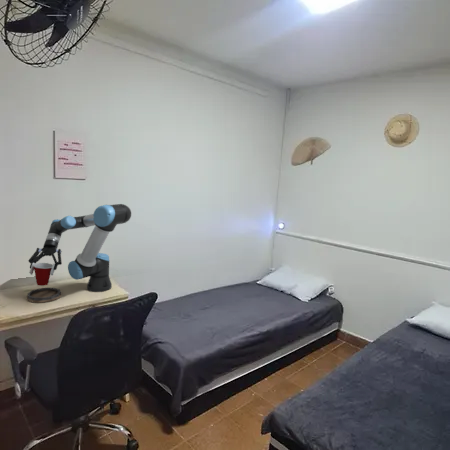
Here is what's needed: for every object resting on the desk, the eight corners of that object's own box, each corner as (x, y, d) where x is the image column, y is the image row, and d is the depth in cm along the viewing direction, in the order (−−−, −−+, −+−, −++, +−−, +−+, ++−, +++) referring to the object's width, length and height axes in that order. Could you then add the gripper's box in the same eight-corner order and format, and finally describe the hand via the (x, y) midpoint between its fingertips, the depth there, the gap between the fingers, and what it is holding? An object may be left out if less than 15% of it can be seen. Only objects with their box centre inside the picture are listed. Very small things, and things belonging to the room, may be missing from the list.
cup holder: (66, 291, 207) (66, 287, 207) (54, 303, 189) (54, 299, 189) (35, 290, 205) (35, 286, 205) (20, 302, 187) (20, 298, 187)
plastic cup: (56, 285, 197) (56, 265, 195) (36, 288, 189) (36, 268, 187) (48, 279, 204) (49, 261, 202) (29, 282, 196) (30, 263, 194)
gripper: (73, 246, 210) (63, 277, 197) (34, 244, 207) (22, 276, 194) (69, 239, 204) (60, 271, 191) (30, 237, 201) (17, 270, 188)
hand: (41, 274), depth 193 cm, fingers closed on plastic cup, 11 cm apart
